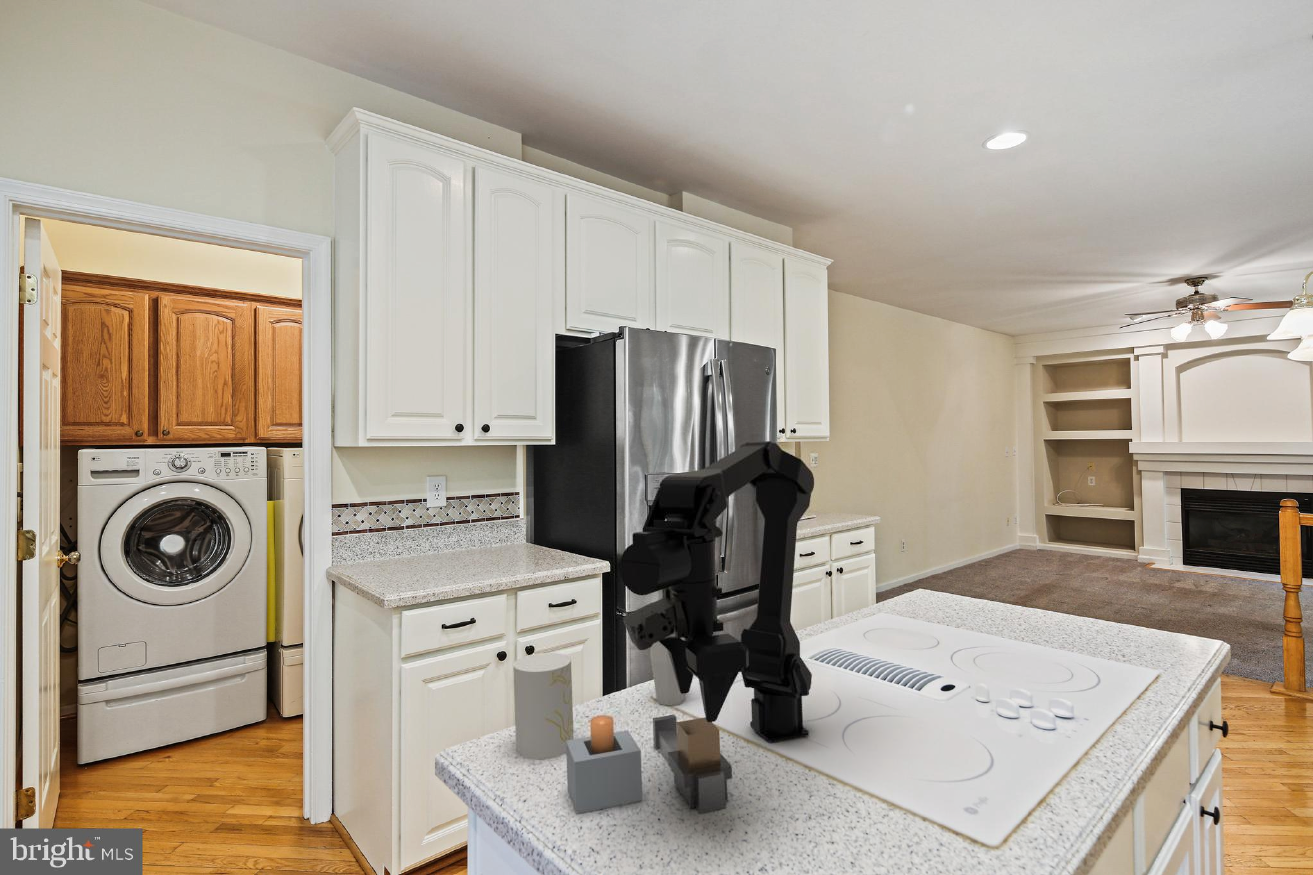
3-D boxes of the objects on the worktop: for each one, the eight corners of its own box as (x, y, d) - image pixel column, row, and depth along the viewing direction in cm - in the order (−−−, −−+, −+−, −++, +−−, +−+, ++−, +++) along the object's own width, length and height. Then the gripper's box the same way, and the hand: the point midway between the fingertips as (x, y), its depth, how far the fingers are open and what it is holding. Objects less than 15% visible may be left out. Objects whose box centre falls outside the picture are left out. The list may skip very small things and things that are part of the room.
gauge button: (611, 742, 83) (610, 713, 83) (616, 752, 80) (615, 722, 80) (589, 746, 82) (588, 717, 82) (593, 756, 79) (592, 726, 79)
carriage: (713, 775, 84) (711, 712, 84) (732, 798, 78) (730, 731, 78) (668, 783, 82) (666, 720, 82) (685, 808, 77) (682, 740, 77)
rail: (675, 742, 94) (674, 714, 94) (725, 808, 77) (724, 773, 77) (653, 746, 93) (652, 718, 93) (699, 813, 76) (698, 778, 76)
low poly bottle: (654, 692, 113) (650, 564, 114) (691, 693, 112) (686, 563, 113) (649, 707, 107) (644, 571, 107) (688, 708, 106) (683, 571, 106)
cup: (562, 761, 90) (559, 672, 90) (506, 757, 91) (503, 670, 92) (581, 734, 98) (578, 653, 98) (529, 731, 99) (526, 651, 99)
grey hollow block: (629, 776, 85) (627, 730, 85) (642, 800, 79) (640, 750, 79) (567, 788, 82) (565, 740, 83) (576, 813, 77) (574, 762, 77)
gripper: (610, 570, 87) (614, 689, 87) (651, 602, 69) (656, 751, 69) (689, 563, 90) (694, 677, 90) (748, 591, 73) (753, 733, 72)
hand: (697, 706), depth 80 cm, fingers open, 9 cm apart
